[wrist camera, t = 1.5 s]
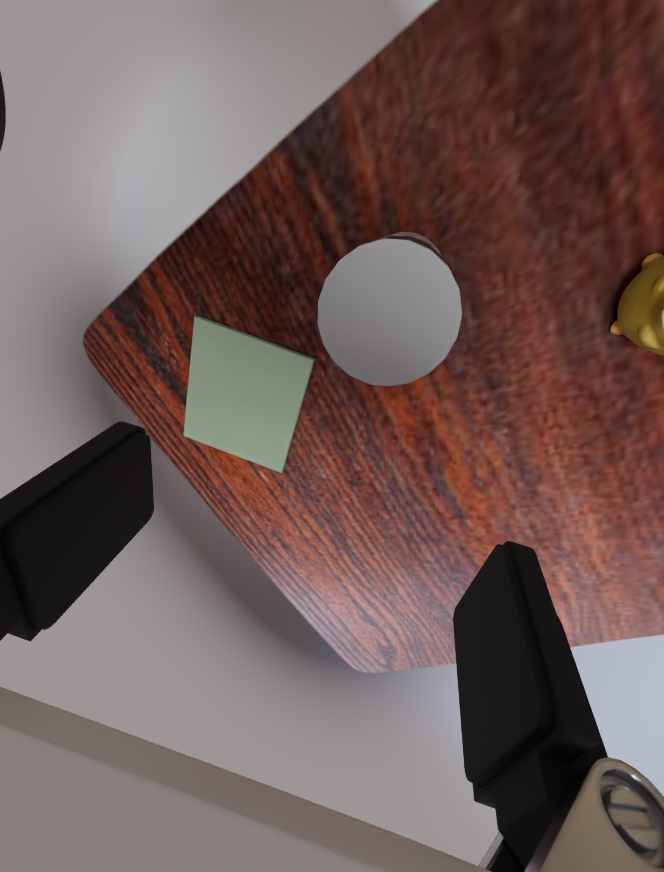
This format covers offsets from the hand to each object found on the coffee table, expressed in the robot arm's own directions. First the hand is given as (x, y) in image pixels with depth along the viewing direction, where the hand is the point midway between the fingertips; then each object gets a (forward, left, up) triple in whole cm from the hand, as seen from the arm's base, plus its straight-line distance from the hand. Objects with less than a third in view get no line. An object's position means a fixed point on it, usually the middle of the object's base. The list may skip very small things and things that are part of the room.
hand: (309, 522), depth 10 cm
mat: (-11, -13, -26) cm, 31 cm away
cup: (0, +3, -26) cm, 26 cm away
